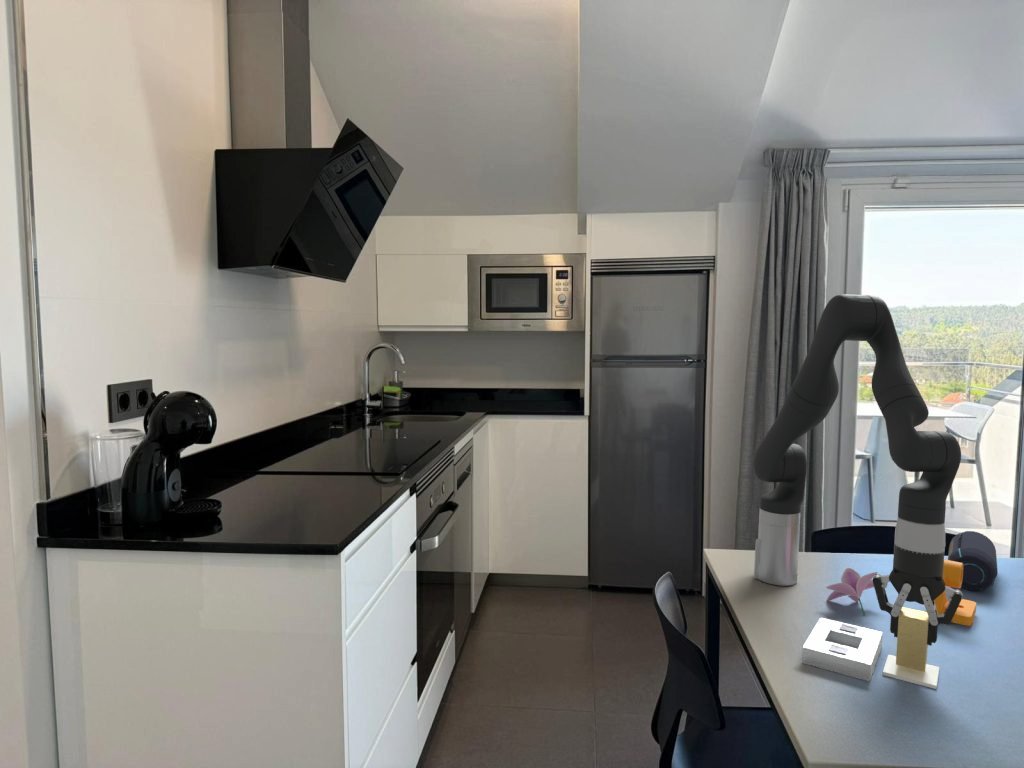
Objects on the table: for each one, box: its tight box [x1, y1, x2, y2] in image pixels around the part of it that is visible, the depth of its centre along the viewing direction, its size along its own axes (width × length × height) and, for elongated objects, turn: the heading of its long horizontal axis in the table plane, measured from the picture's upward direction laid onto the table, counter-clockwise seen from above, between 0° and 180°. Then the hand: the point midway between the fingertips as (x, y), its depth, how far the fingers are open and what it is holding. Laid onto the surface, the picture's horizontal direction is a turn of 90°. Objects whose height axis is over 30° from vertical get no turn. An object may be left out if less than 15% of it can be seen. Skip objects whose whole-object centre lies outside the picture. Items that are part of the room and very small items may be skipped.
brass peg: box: [895, 606, 929, 672], centre depth 119 cm, size 4×4×9 cm
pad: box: [882, 653, 940, 690], centre depth 120 cm, size 8×8×1 cm
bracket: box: [934, 558, 977, 627], centre depth 144 cm, size 11×7×12 cm, turn 140°
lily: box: [825, 567, 879, 616], centre depth 147 cm, size 12×12×10 cm
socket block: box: [801, 617, 884, 683], centre depth 126 cm, size 11×16×3 cm
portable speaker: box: [947, 530, 999, 592], centre depth 168 cm, size 25×10×10 cm, turn 146°
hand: (913, 639), depth 119 cm, fingers closed on brass peg, 4 cm apart
